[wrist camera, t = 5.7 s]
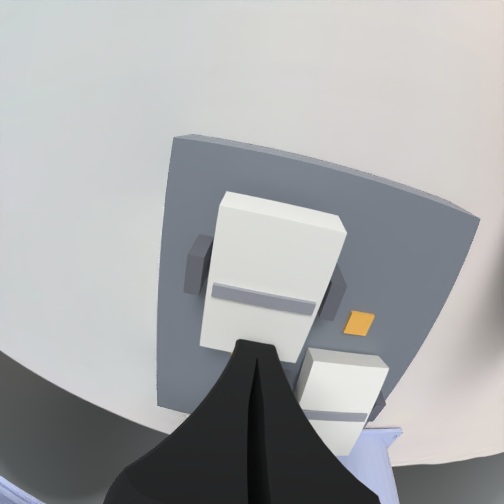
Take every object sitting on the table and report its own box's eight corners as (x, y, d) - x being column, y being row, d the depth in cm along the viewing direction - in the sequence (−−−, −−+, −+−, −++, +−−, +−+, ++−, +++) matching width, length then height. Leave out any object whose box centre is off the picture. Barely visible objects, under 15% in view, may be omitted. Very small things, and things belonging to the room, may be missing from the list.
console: (353, 402, 20) (364, 455, 16) (165, 373, 20) (145, 428, 15) (450, 201, 14) (504, 234, 9) (186, 133, 14) (147, 139, 9)
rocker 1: (294, 338, 13) (295, 365, 12) (206, 322, 13) (198, 348, 12) (338, 215, 10) (348, 234, 9) (226, 191, 10) (218, 207, 9)
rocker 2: (342, 440, 15) (349, 457, 13) (278, 436, 15) (280, 455, 13) (378, 355, 14) (390, 369, 13) (307, 347, 14) (314, 362, 13)
